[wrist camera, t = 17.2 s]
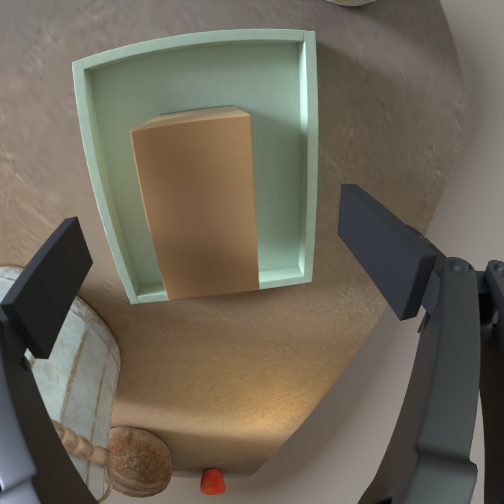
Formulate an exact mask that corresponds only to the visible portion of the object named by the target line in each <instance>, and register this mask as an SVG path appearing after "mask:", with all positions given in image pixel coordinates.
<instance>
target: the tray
mask: <svg viewBox="0 0 504 504" xmlns="http://www.w3.org/2000/svg"><path fill="white" fill-rule="evenodd" d="M72 64H73V75H74V85H75V94H76V102H77V109H78V116H79V122H80V128H81V134H82V140H83V145H84V150H85V155H86V160H87V164H88V169H89V173H90V178H91V182H92V186H93V190H94V194H95V198H96V201H97V205H98V209H99V212H100V216H101V219H102V223H103V226H104V229H105V233H106V236H107V239H108V242H109V245H110V248H111V251H112V254H113V257H114V260H115V263H116V266H117V269H118V272H119V274H120V277H121V280H122V282H123V285H124V288H125V290H126V293H127V296H128V298H129V301H130V303H131V304H139V303H149V302H159V301H168V298H167V294H166V291H165V287H164V284H163V280H162V277H161V273H160V270H159V266H158V262H157V258H156V255H155V251H154V247H153V243H152V239H151V235H150V231H149V226H148V222H147V218H146V213H145V209H144V204H143V199H142V195H141V190H140V185H139V180H138V174H137V169H136V163H135V158H134V152H133V146H132V140H131V133H130V132H131V130H133V129H135V128H136V127H138V126H140V125H142V124H143V123H145V122H147V121H149V120H151V119H152V118H154V117H156V116H158V115H160V114H164V113H170V112H177V111H183V110H191V109H199V108H207V107H217V106H228V105H234V106H236V107H238V108H239V109H241V110H243V111H244V112H246V113H248V114H249V115H250V116H251V129H252V148H253V167H254V186H255V206H256V226H257V246H258V267H259V289H267V288H274V287H281V286H288V285H294V284H301V283H307V282H312V271H313V257H314V242H315V225H316V205H317V176H318V84H317V57H316V38H315V31H305V30H304V31H303V30H289V29H240V30H222V31H210V32H201V33H192V34H185V35H178V36H172V37H166V38H160V39H155V40H150V41H145V42H141V43H136V44H132V45H128V46H124V47H120V48H116V49H113V50H109V51H106V52H102V53H99V54H96V55H93V56H90V57H87V58H84V59H81V60H78V61H75V62H73V63H72ZM195 298H196V297H195ZM186 299H187V298H186ZM177 300H178V299H177Z"/></svg>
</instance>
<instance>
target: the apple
mask: <svg viewBox="0 0 504 504" xmlns="http://www.w3.org/2000/svg"><path fill="white" fill-rule="evenodd" d="M201 492H202V493H204V494H208V495H217V494H221V493H224V492H225V483H224V479H223V477H222V475H221V473H220V472H219V470H217V469H208V470H206V471H205V472H204V473H203V475H202V479H201Z"/></svg>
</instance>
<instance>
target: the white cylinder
mask: <svg viewBox="0 0 504 504" xmlns="http://www.w3.org/2000/svg"><path fill="white" fill-rule="evenodd" d="M327 1H329V2H332V3H335V4H339V5H345V6H360V5H364V4H367V3H370V2H373V1H375V0H327Z"/></svg>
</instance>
